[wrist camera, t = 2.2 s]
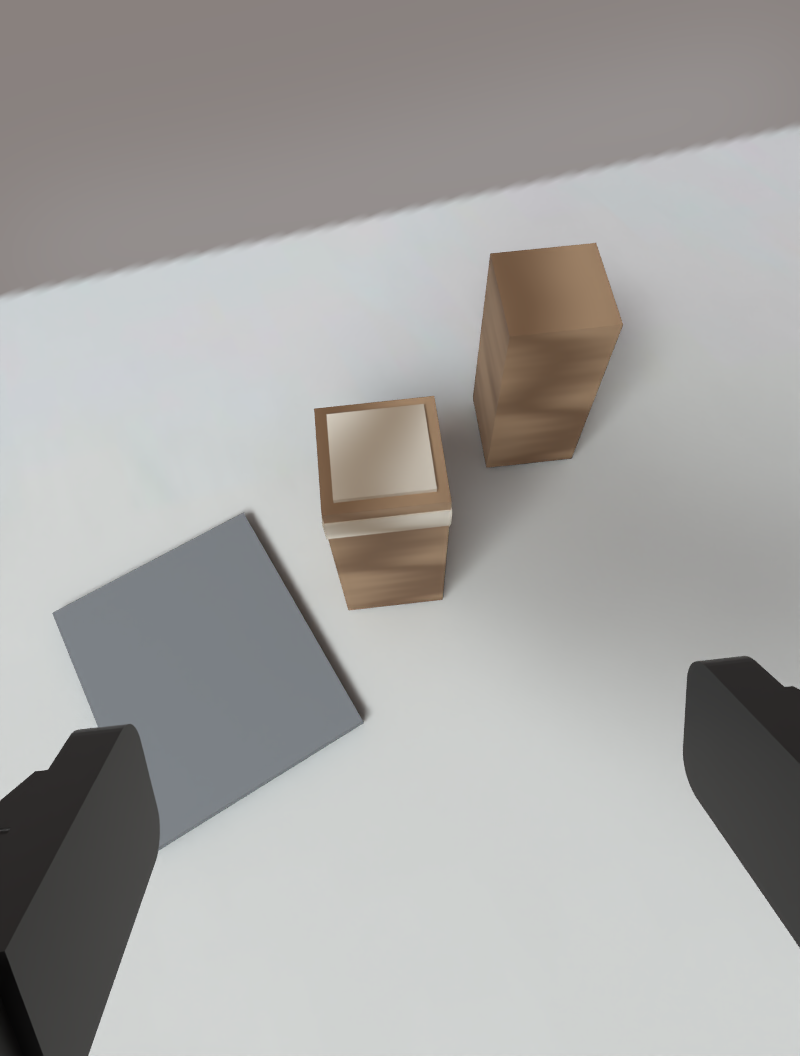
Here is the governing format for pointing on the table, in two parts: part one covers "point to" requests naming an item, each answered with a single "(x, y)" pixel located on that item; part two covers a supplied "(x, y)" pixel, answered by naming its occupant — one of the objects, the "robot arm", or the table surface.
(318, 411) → the label box
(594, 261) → the plain box
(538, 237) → the table surface
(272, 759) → the slate mat
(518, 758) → the table surface
